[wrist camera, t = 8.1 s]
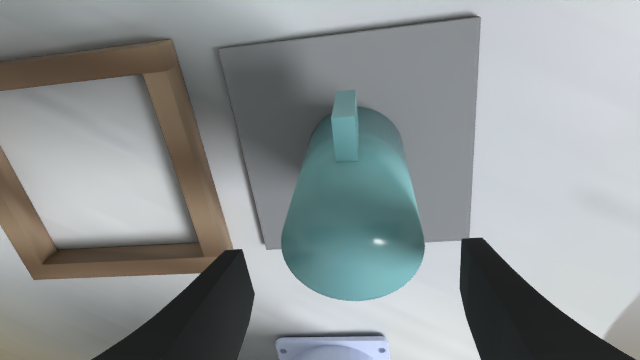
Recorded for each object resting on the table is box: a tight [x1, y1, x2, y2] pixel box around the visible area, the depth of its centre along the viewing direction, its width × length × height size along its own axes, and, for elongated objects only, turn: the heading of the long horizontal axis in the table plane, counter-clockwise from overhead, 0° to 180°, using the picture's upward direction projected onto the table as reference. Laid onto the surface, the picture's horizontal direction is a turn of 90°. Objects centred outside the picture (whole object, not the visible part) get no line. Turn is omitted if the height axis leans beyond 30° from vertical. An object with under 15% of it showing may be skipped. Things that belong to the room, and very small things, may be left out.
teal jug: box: [281, 90, 425, 301], centre depth 17 cm, size 7×5×8 cm
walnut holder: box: [0, 39, 233, 280], centre depth 23 cm, size 13×13×2 cm
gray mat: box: [218, 16, 481, 250], centre depth 21 cm, size 12×12×1 cm
